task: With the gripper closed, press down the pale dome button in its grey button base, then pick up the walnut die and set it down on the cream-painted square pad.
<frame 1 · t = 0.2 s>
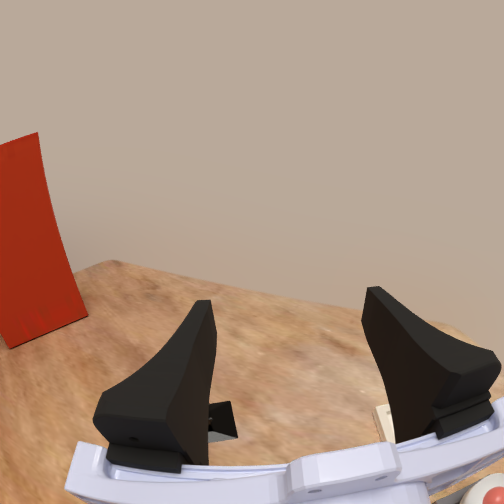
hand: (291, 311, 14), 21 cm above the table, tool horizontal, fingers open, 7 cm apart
file binder: (46, 322, 46), on the table
die pad: (428, 439, 24), on the table
black tapered mount: (195, 428, 30), on the table
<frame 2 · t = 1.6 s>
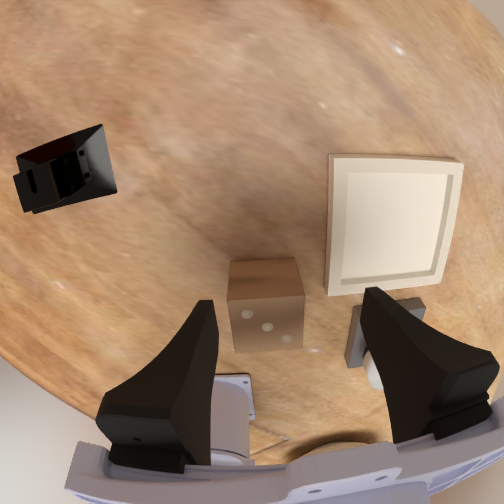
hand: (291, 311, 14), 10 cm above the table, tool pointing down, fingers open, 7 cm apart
grey button base: (381, 329, 28), on the table
dome: (395, 360, 24), point 4 cm above the table, slide at 0.0 cm
die: (264, 285, 25), on the table
die pad: (392, 223, 22), on the table
black tapered mount: (66, 170, 20), on the table
cereal bowl: (331, 449, 42), on the table
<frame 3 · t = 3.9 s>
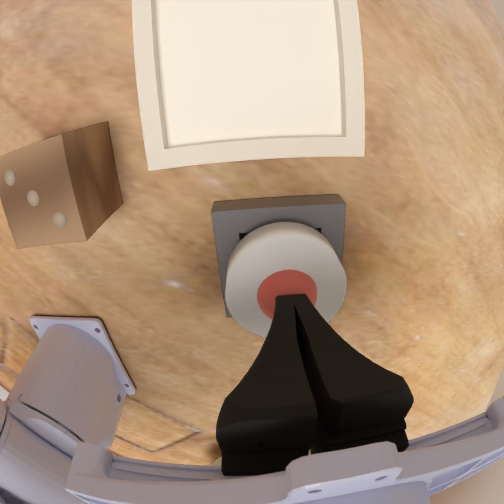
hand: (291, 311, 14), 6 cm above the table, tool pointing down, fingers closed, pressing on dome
grey button base: (279, 252, 19), on the table
dome: (284, 281, 16), point 3 cm above the table, slide at -1.1 cm, touching gripper
die: (80, 169, 16), on the table
die pad: (248, 54, 13), on the table
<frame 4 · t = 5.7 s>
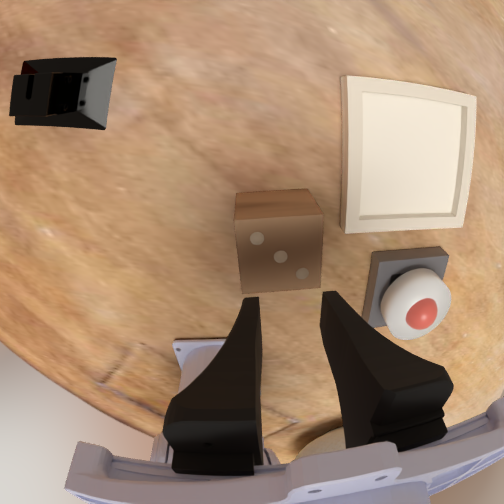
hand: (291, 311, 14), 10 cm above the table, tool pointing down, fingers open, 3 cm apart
grey button base: (401, 283, 25), on the table
dome: (415, 303, 22), point 3 cm above the table, slide at -1.2 cm
die: (273, 222, 22), on the table
die pad: (409, 155, 20), on the table
black tapered mount: (64, 91, 17), on the table
cereal bowl: (342, 435, 40), on the table
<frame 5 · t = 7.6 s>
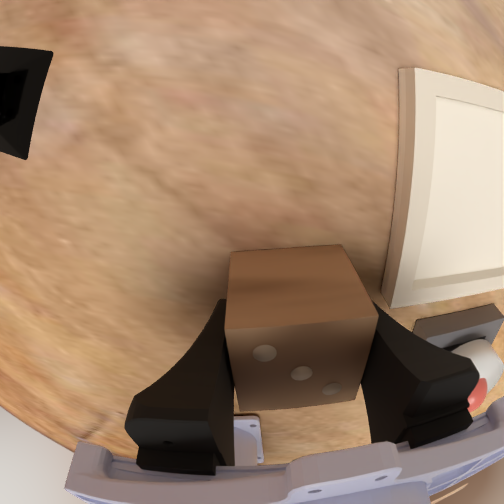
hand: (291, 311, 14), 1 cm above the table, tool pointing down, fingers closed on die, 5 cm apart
grey button base: (443, 348, 18), on the table
dome: (461, 380, 15), point 3 cm above the table, slide at -1.2 cm
die: (287, 293, 15), on the table, touching gripper
die pad: (480, 192, 12), on the table
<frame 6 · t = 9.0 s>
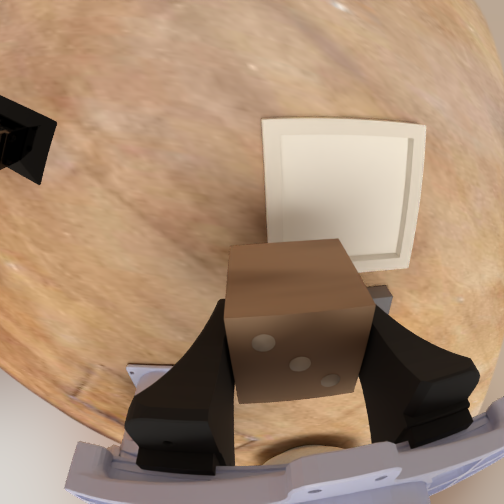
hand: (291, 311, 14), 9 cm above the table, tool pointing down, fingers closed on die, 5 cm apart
grey button base: (343, 321, 26), on the table
die: (285, 287, 15), point 7 cm above the table, touching gripper
die pad: (343, 196, 20), on the table
black tapered mount: (16, 133, 18), on the table
cereal bowl: (305, 452, 40), on the table
when the fingers open (3 cm above the table, at t = 10.9 s): die drops 1 cm, resting on die pad.
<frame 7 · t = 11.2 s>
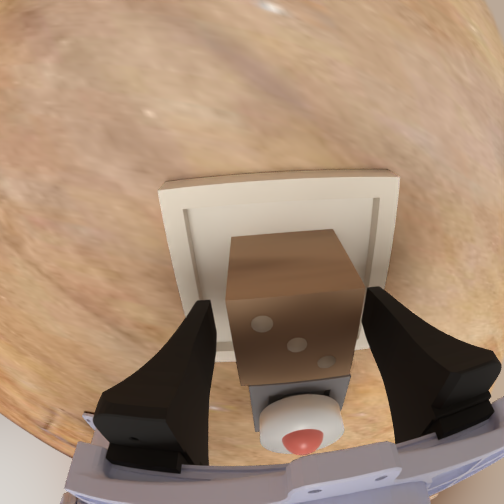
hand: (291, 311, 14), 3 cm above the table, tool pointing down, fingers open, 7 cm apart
grey button base: (296, 392, 22), on the table
dome: (300, 424, 19), point 3 cm above the table, slide at -1.2 cm
die: (284, 275, 16), point 1 cm above the table, touching die pad
die pad: (283, 271, 17), on the table
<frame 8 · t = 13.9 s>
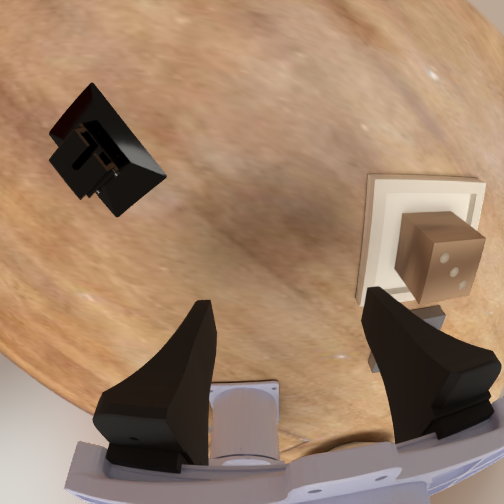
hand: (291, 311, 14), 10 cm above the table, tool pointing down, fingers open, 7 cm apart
grey button base: (403, 335, 29), on the table
die: (423, 240, 22), point 1 cm above the table, touching die pad
die pad: (420, 238, 23), on the table
black tapered mount: (106, 150, 20), on the table
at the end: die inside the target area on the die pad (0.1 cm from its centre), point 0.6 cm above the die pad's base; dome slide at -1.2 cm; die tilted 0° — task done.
